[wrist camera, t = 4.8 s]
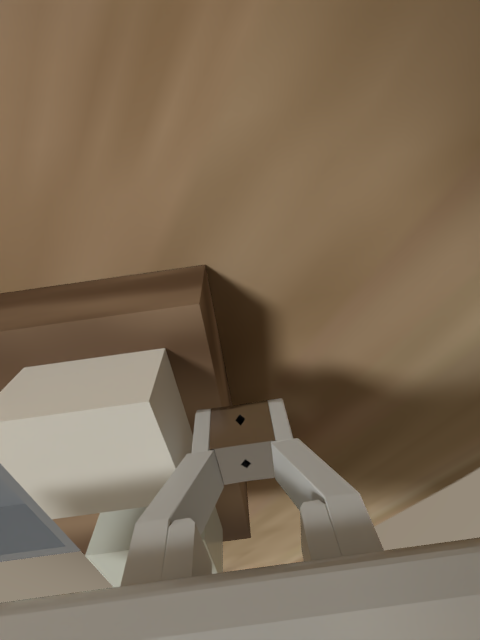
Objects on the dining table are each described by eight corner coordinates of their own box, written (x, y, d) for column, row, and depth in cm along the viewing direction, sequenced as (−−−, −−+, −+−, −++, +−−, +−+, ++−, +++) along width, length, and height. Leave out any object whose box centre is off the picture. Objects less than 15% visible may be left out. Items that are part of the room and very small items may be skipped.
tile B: (106, 493, 14) (84, 555, 11) (206, 479, 14) (204, 539, 11) (137, 540, 16) (124, 599, 14) (222, 529, 16) (223, 586, 14)
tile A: (24, 367, 10) (-34, 426, 7) (165, 348, 10) (148, 401, 7) (82, 455, 12) (51, 519, 10) (194, 440, 12) (188, 500, 10)
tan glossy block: (-15, 295, 12) (-106, 346, 9) (205, 264, 12) (199, 303, 9) (111, 491, 20) (88, 559, 17) (245, 473, 20) (250, 537, 17)
